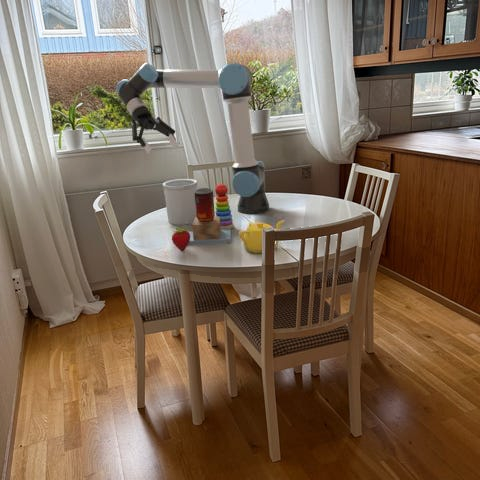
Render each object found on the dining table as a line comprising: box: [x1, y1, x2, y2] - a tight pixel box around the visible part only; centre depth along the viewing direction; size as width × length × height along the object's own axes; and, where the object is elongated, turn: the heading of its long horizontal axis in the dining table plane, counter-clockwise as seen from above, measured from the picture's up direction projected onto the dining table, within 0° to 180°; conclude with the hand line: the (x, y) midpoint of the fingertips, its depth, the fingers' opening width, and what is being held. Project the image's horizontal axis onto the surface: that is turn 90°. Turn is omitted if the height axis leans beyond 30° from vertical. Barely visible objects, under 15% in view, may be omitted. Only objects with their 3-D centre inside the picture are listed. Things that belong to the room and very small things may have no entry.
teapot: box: [238, 219, 285, 254], centre depth 155 cm, size 14×13×10 cm
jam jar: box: [195, 187, 216, 223], centre depth 165 cm, size 7×7×12 cm
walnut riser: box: [191, 215, 221, 240], centre depth 168 cm, size 10×10×6 cm
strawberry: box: [171, 225, 190, 252], centre depth 156 cm, size 6×8×10 cm
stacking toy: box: [214, 183, 235, 230], centre depth 179 cm, size 8×8×19 cm
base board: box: [187, 229, 232, 246], centre depth 170 cm, size 18×12×2 cm, turn 90°
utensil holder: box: [162, 178, 198, 226], centre depth 193 cm, size 15×15×18 cm
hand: (163, 149), depth 178 cm, fingers open, 13 cm apart
